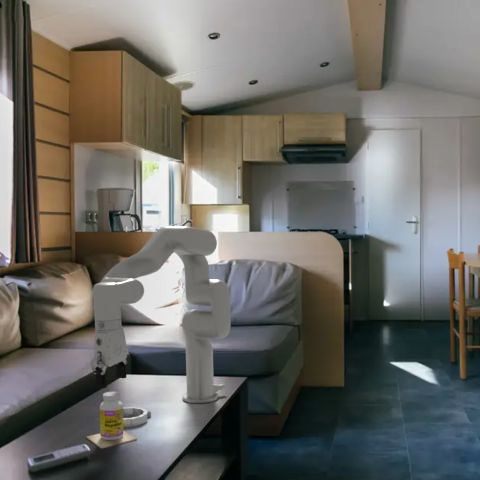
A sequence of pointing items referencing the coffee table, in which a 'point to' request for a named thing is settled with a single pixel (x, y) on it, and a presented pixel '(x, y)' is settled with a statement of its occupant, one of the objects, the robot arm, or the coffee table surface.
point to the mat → (107, 443)
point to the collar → (135, 421)
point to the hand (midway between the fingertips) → (111, 382)
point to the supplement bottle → (111, 417)
